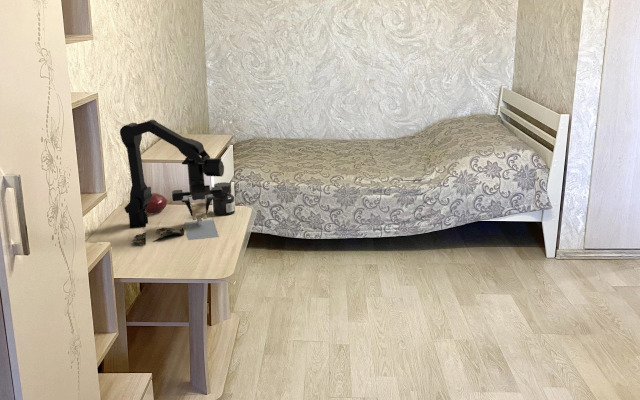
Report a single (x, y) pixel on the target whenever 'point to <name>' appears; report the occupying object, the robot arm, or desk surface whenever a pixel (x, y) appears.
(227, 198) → the ink bottle
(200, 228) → the pin plate
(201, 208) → the block
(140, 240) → the decorative rock
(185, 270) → the desk surface
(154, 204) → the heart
